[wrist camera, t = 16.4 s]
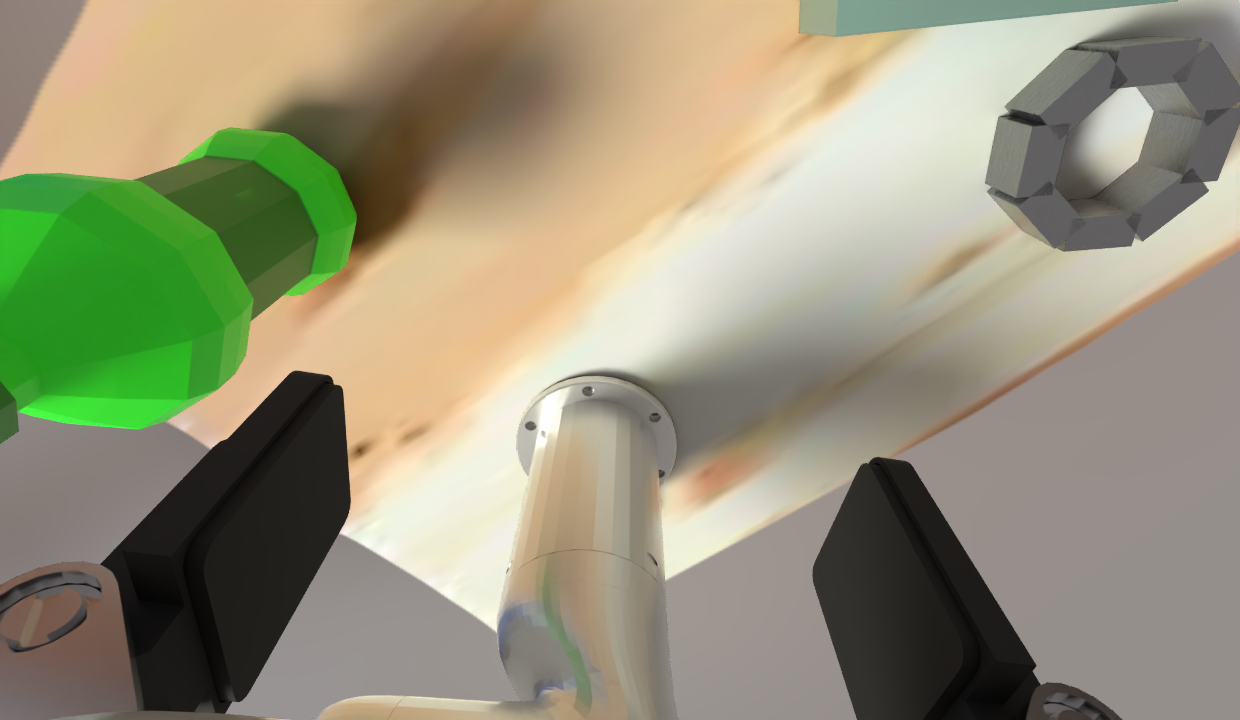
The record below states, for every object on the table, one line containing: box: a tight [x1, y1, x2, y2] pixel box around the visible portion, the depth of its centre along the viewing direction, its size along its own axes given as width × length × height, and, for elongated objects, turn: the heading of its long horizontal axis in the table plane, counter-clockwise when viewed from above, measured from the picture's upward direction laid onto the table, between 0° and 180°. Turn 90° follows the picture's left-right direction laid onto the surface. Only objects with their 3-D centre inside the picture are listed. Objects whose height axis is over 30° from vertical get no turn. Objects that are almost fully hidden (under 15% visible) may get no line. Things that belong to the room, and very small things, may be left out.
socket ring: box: [985, 37, 1240, 252], centre depth 35 cm, size 11×11×4 cm
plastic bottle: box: [0, 128, 357, 444], centre depth 28 cm, size 10×10×25 cm
